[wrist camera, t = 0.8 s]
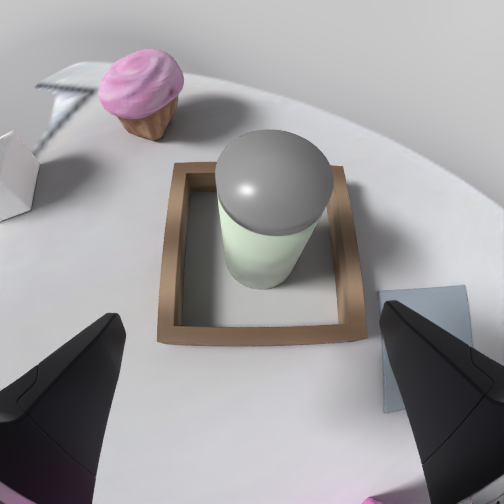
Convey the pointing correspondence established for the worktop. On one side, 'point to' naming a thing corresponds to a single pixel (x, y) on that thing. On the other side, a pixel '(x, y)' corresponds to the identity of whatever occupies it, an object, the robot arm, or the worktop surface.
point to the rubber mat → (434, 309)
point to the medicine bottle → (16, 176)
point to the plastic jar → (269, 203)
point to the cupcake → (143, 91)
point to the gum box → (371, 501)
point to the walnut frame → (174, 333)
